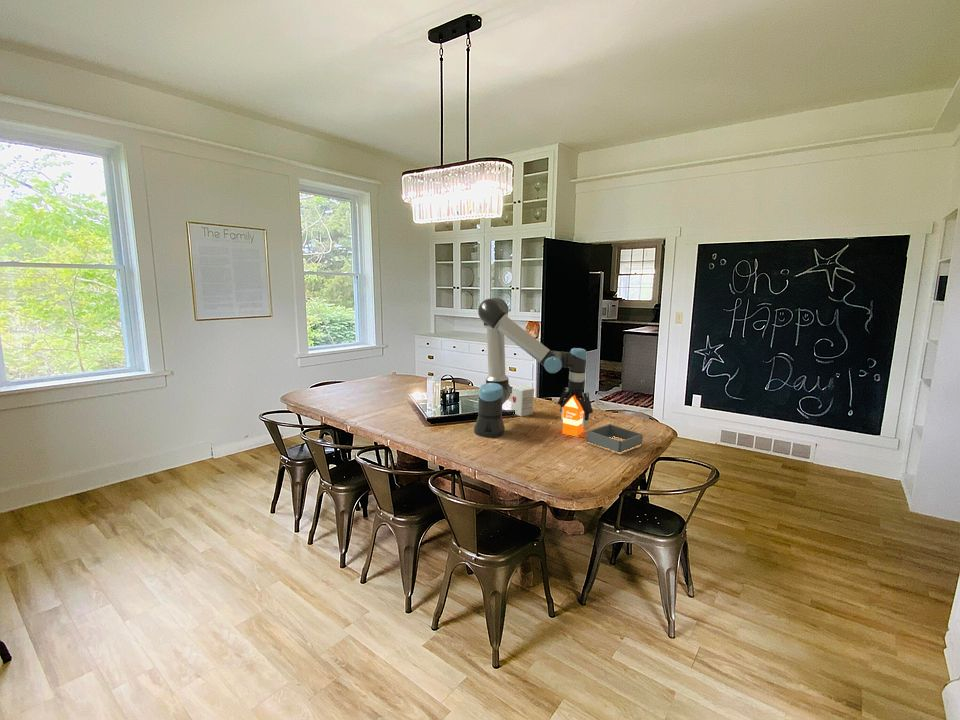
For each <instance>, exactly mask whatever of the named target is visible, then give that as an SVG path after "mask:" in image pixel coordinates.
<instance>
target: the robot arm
mask: <svg viewBox="0 0 960 720" xmlns="http://www.w3.org/2000/svg"><path fill="white" fill-rule="evenodd" d="M477 313H478V316H479V318H480V320H481V321H482V322H483V326H484V328H486V339H487V366H488V367H487V368H488V375H487V376H486V378H485V383H483V384H481V385H480V386H479V388H478V404H477V405H478V406H477V407H478V409H477V410H478V412H477V415H478V416H477V418H476V421H475V425H474V426H473V433H474V434H475V435H478V436H480V437H485V438H497V437H502V436H504V435H505V432H506V427H505V424H504V421H503V405H504V404H505V403H506V402H507V401H508V400H509V398H510V397H511V395H512V388H511V385H510V381H509V376H507V375H506V354H505V353H506V351H505V348H506V346H505V337H506V338H508V339H509V340H510V341H511V342H513V344H515V345H516V346H518V347H519V348H521V349H522V350H523V351H525V352H526V353H527V354H528V355H529V356H530V357H532V358H533V359H534V360H535V361H537V362H538V363H539V364H541V365H542V366H543V367H544V369H545V371H546V372H548V373H549V374H556V373H558V372H559V371H560V370H561V369H562V368H568V369H569V372H568V373H569V374H568V386H566V387H563V390H562V393H561V395H560V397H559V399H558V402H557V405H559V406H560V414H561V415H560V420H562V421H563V416H564V406H565V404H566V403H567V402H568V401H569V400H570V399H571V397H572V396H574V395H575V397H576V399H577V400H578V402H579V403H580V405H581V407H582V409H583V411H584V414H583V422H582V427H587V426H588V421H589V417H590V414H593V413H594V411H593V407H592V404H591V400H590V393H589V392H584V389H585V379H586V370H587V369H586V368H587V352H588V351H587V350H586V349H585V348H581V347H578V348H577V347H573V348H571V349H570V351H566V352H565V351H558V350H551V349H549V348H548V347H547V346H545V345H544V344H543V343H542V342H541V341H539V340H537V338H535V337H534V336H532V335H531V334H530V333H529V332H528V331H526V330H525V329H523V328H522V327H521V326H520V325H519V324H517V322H515V321H513V320H512V319H511V318H509V316H508V314H509V306H508V303H507V302H506V301H505V300H503V299H502V298H499V297H492V298H486V299H484V300H482V301H481V303H480V304H479V306H478V309H477ZM580 398H581V399H580Z"/></svg>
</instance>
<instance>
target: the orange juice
mask: <svg viewBox="0 0 960 720" xmlns="http://www.w3.org/2000/svg"><path fill="white" fill-rule="evenodd" d="M580 399H581V398H580ZM583 414H584V411H583V409H582V407H581V405H580V403H579V402H578V400H577V399H576V397H575V395H574V396H572V397H571V399H570V400H569V401H568V402H567V403H566V404H565V406H564V416H563V420H562V429H561V430H562V433H563V434H567V435H572V436H578V435H579V434H581V433H582V432H583V433H584V430H585V429H584V427H582V422H583ZM562 433H561V434H562ZM563 434H562V435H563ZM567 435H566V436H567ZM581 435H582V434H581ZM578 437H579V436H578Z"/></svg>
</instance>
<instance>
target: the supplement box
mask: <svg viewBox="0 0 960 720" xmlns="http://www.w3.org/2000/svg"><path fill="white" fill-rule="evenodd" d="M534 394H535V388H533V387H530V386H527V385H524V384H522V385H516V386H512V388H511V403H510V404H511V406H510V410H511V409H513V410H515V414H514V415H517V417H520V418H521V417H525V416H530V415H531V416H532V415H533V413H534V412H533V411H534Z"/></svg>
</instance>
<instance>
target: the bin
mask: <svg viewBox="0 0 960 720" xmlns="http://www.w3.org/2000/svg"><path fill="white" fill-rule="evenodd" d="M643 435H644V434H642V433H639V432H636V431H633V430H630V429H627V428H623V427H621V426H618V425H614V424H612V423H610V424H609V423H608V424H606V425H602V426H600V427H597V428H592V429H590V430H587V435H586V437H587V438H586V443H587V442H590V443H593V444H596V445H599V446H602V447H605V448H609V449H611V450H614V451H617V452H622V451H624V450H627V449H630V448H632V447H635V446H637V445H640V444H642V443H643ZM613 436H615V437H619V438H622V439H625V440H623V441H617V440H614V439H611V438H612V437H613ZM609 437H611V438H609ZM613 438H614V437H613Z"/></svg>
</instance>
